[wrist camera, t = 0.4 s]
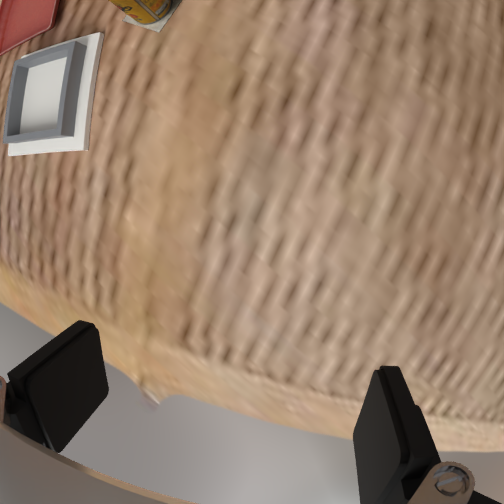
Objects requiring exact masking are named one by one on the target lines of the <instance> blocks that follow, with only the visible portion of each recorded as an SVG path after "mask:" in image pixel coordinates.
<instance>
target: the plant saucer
mask: <svg viewBox="0 0 504 504" xmlns="http://www.w3.org/2000/svg"><path fill="white" fill-rule="evenodd" d="M59 1H60V0H2V3H1V6H0V56H1V55H3V54H5V53H6V52H8V51H10V50H12V49H13V48H15V47H17V46H19V45H21V44H22V43H24V42H26V41H28V40H30V39H32V38H34V37H36V36H38V35H40V34H42V33H44V32H46V31H48V30H50V29H52V28H53V27H54V25H55V20H56V15H57V10H58V6H59Z"/></svg>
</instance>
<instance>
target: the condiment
mask: <svg viewBox="0 0 504 504" xmlns="http://www.w3.org/2000/svg"><path fill="white" fill-rule="evenodd" d="M108 1H111V2H112V3H113V4H114V5H116V6H117V7H118V8H119V9H121V10H122V11H124V12H125V13H126V14H127V15H126V17H125V18H124V19H123V20H122V21H125V22H128V23H131V24H134V25H138V26H141V27H144V28H147V29H150V30H153V31H156V32H160V30H161V29H162V28H163V26H164V25H165V24H166V22H167V21H168V19H169V18H170V17H171V15H172V13H173V12H174V11H175V9H176V8H177V6H178V5H179V3H180V2H181V1H182V0H108Z"/></svg>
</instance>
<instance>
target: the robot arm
mask: <svg viewBox="0 0 504 504" xmlns="http://www.w3.org/2000/svg"><path fill="white" fill-rule="evenodd" d="M7 375H8V377H9V380H10V381H9V382H8V383H6V381H5V380H4V378H3V377H1V376H0V504H197V503H193V502H189V501H185V500H181V499H177V498H173V497H170V496H166V495H162V494H159V493H156V492H153V491H149V490H146V489H143V488H140V487H137V486H134V485H132V484H129V483H126V482H123V481H120V480H118V479H115V478H112V477H110V476H107V475H105V474H102V473H100V472H98V471H95V470H93V469H90V468H88V467H85V466H83V465H81V464H79V463H77V462H75V461H72V460H70V459H68V458H66V457H64V456H62V455H60V454H58V453H60V452H61V451H62V450H63V449H64V448H65V446H66V445H67V444H68V443H69V442H70V440H71V439H72V438H73V437H74V435H75V434H76V433H77V432H78V431H79V429H80V428H81V427H82V426H83V424H84V423H85V422H86V421H87V420H88V419H89V417H90V416H91V415H92V413H94V411H95V410H96V409H97V408H98V406H99V405H100V404H101V403H102V402H103V400H104V399H105V398H106V397H107V395H108V391H109V387H108V382H107V377H106V372H105V366H104V361H103V355H102V349H101V342H100V336H99V331H98V329H97V328H96V327H95V325H94V324H93V323H89V322H85V321H82V320H79V321H77V322H75V323H74V324H73V325H71V326H70V327H69V328H67V329H66V330H64V331H63V332H62V333H60V334H59V335H58V336H56V337H55V338H54V339H52V340H51V341H50V342H48V343H47V344H45V345H44V346H43V347H41V348H40V349H39V350H38V351H36V352H35V353H33V354H32V355H31V356H30V357H28V358H27V359H26V360H25V361H23V362H22V363H21V364H19V365H18V366H16V367H15V368H14V369H13V370H11V371H10V372H9V373H8V374H7ZM353 442H354V449H355V458H356V466H357V475H358V485H359V494H360V504H501V503H499V502H497V501H495V500H493V499H491V498H488V497H486V496H484V495H482V494H480V493H478V492H476V491H474V486H475V480H474V476H473V474H472V472H471V471H470V470H469V469H468V468H467V467H465V466H463V465H462V464H460V463H456V462H442V463H441V460H440V457H439V455H438V452H437V449H436V447H435V444H434V441H433V439H432V436H431V434H430V431H429V428H428V426H427V423H426V421H425V418H424V416H423V414H422V411H421V409H420V407H419V406H417V405H415V403H414V401H413V399H412V396H411V394H410V391H409V389H408V386H407V384H406V382H405V379H404V377H403V375H402V372H401V370H400V368H399V367H398V366H381V367H380V369H379V370H375V371H374V372H373V375H372V378H371V382H370V385H369V388H368V391H367V394H366V397H365V400H364V403H363V406H362V409H361V412H360V415H359V417H358V420H357V423H356V426H355V429H354V433H353Z"/></svg>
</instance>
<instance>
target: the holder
mask: <svg viewBox="0 0 504 504" xmlns="http://www.w3.org/2000/svg"><path fill="white" fill-rule="evenodd" d="M103 39H104V34H103V33H101V32H99V33H95V34H91V35H87V36H83V37H79V38H76V39H72V40H69V41H65V42H62V43H59V44H56V45H53V46H50V47H47V48H44V49H41V50H38V51H35V52H32V53H30V54H27V55H24V56H22V58H21V59H19V60H16V61H15V62H14V67H13V72H12V77H11V83H10V88H9V95H8V101H7V108H6V116H5V125H4V136H3V143H9V149H8V156H17V155H27V154H37V153H49V152H63V151H80V150H88V147H89V135H90V124H91V114H92V106H93V98H94V90H95V84H96V77H97V71H98V65H99V60H100V54H101V49H102V44H103Z"/></svg>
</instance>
